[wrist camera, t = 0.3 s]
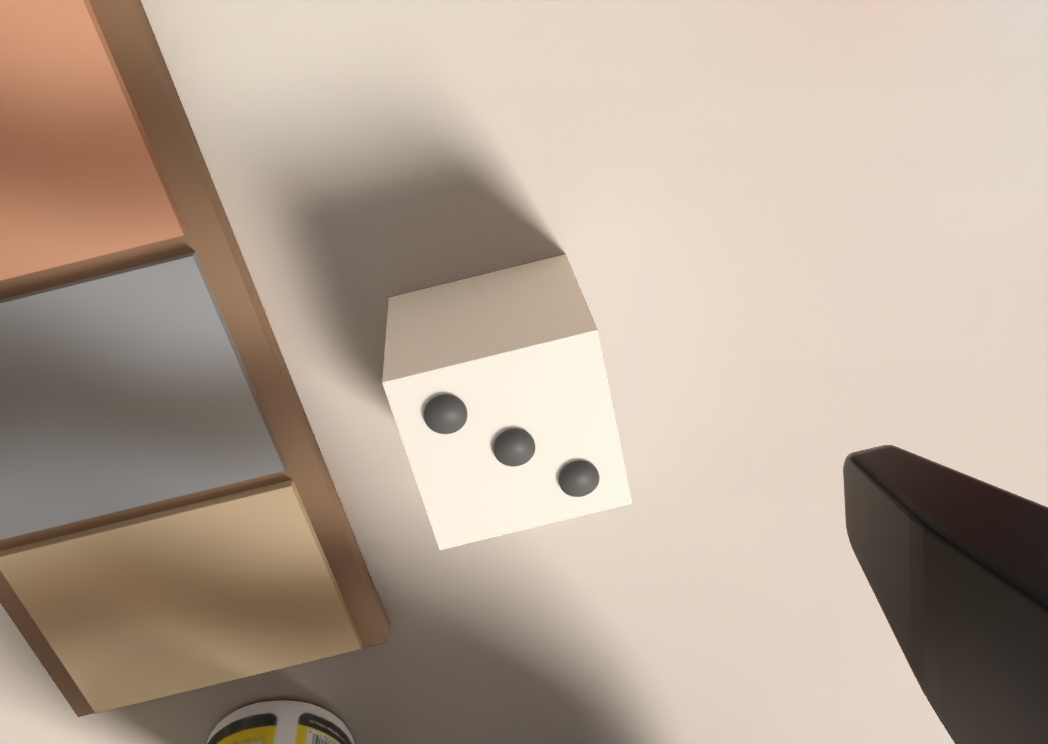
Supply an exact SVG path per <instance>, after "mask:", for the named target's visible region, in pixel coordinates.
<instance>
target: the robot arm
mask: <svg viewBox="0 0 1048 744" xmlns="http://www.w3.org/2000/svg"><path fill="white" fill-rule="evenodd" d="M843 476H844V495H845V515H846V528H847V533H848V537H849V541H850V543H851V546H852V549H853V551H854V553H855V555H856V557H857V559H858V561H859V563H860V565H861V567H862V569H863V571H864V574H865V576H866V578H867V580H868V582H869V584H870V586H871V588H872V590H873V592H874V594H875V596H876V598H877V600H878V602H879V604H880V606H881V608H882V610H883V612H884V614H885V616H886V618H887V620H888V623H889V625H890V627H891V629H892V631H893V633H894V635H895V637H896V639H897V641H898V643H899V645H900V647H901V649H902V651H903V653H904V655H905V657H906V659H907V661H908V663H909V665H910V667H911V669H912V671H913V673H914V675H915V677H916V679H917V681H918V683H919V685H920V687H921V689H922V691H923V692H924V694H925V696H926V697H927V699H928V701H929V702H930V704H931V706H932V707H933V709H934V711H935V712H936V714H937V716H938V717H939V719H940V721H941V722H942V724H943V725H944V727H945V728H946V730H947V732H948V733H949V735H950V736H951V738H952V739H953V741H954V742H955V744H1048V507H1046V506H1043V505H1041V504H1038V503H1036V502H1033V501H1031V500H1028V499H1026V498H1023V497H1021V496H1018V495H1016V494H1013V493H1011V492H1008V491H1006V490H1003V489H1001V488H998V487H996V486H993V485H991V484H988V483H986V482H983V481H981V480H978V479H976V478H973V477H971V476H968V475H966V474H963V473H961V472H958V471H956V470H953V469H951V468H948V467H946V466H943V465H941V464H938V463H936V462H933V461H931V460H928V459H926V458H923V457H921V456H918V455H916V454H913V453H911V452H908V451H906V450H903V449H901V448H898V447H895V446H892V445H883V446H878V447H874V448H870V449H866V450H861V451H857V452H853V453H850V454H849V455H848V456H847V457H846V459H845V462H844V466H843Z"/></svg>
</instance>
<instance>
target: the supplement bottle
mask: <svg viewBox="0 0 1048 744" xmlns="http://www.w3.org/2000/svg"><path fill="white" fill-rule="evenodd" d="M206 744H354V741H353V738H352V736H351V733H350V731H349V730H348V728H347V727H346V726H345V724H344V723H343V722H342V721H341V720H340V719H339V718H337V717H336V716H335V715H334V714H332V713H331V712H329V711H327V710H325V709H323V708H321V707H318V706H316V705H313V704H309V703H305V702H299V701H288V700H281V701H266V702H259V703H255V704H251V705H247V706H245V707H242V708H240V709H238V710H236V711H234V712H232V713H231V714H229V715H228V716H226V717H225V718H224V719H222V720H221V721H220V722H219V723H218V724H217V725H216V727H215V728H214V729H213V731H212V732H211V734H210V736H209V738H208V740H207V743H206Z"/></svg>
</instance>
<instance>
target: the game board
mask: <svg viewBox="0 0 1048 744" xmlns="http://www.w3.org/2000/svg"><path fill="white" fill-rule="evenodd" d="M0 603H1V604H2V606H3V607H4V609H5V610H6V612H7V613H8V615H9V616H10V617H11V619H12V620H13V622H14V623H15V625H16V626H17V628H18V629H19V631H20V632H21V634H22V635H23V637H24V638H25V640H26V641H27V642H28V644H29V645H30V647H31V648H32V650H33V651H34V653H35V654H36V656H37V657H38V659H39V660H40V662H41V663H42V664H43V666H44V667H45V669H46V670H47V672H48V673H49V675H50V676H51V678H52V679H53V681H54V682H55V684H56V685H57V687H58V688H59V689H60V691H61V692H62V694H63V695H64V697H65V698H66V700H67V701H68V703H69V704H70V706H71V707H72V709H73V710H74V711H75V713H76V714H77V716H78V717H80V716H84V715H88V714H93V713H100V712H104V711H108V710H112V709H117V708H121V707H125V706H129V705H133V704H137V703H141V702H146V701H150V700H154V699H158V698H162V697H166V696H170V695H174V694H179V693H183V692H187V691H191V690H195V689H199V688H203V687H208V686H212V685H216V684H220V683H224V682H228V681H232V680H237V679H241V678H245V677H249V676H253V675H257V674H261V673H266V672H270V671H274V670H278V669H282V668H286V667H290V666H294V665H299V664H303V663H307V662H311V661H315V660H319V659H323V658H328V657H332V656H336V655H340V654H344V653H348V652H352V651H357V650H361V649H362V648H366V647H370V646H374V645H378V644H382V643H386V642H389V630H390V624H389V622H388V619H387V617H386V614H385V612H384V609H383V607H382V604H381V602H380V599H379V597H378V594H377V592H376V589H375V587H374V584H373V582H372V579H371V577H370V574H369V572H368V569H367V567H366V564H365V562H364V559H363V557H362V554H361V552H360V549H359V547H358V544H357V542H356V539H355V537H354V534H353V532H352V529H351V527H350V524H349V522H348V519H347V517H346V514H345V512H344V509H343V507H342V504H341V502H340V499H339V497H338V494H337V492H336V489H335V487H334V484H333V482H332V479H331V477H330V474H329V472H328V469H327V467H326V464H325V462H324V459H323V457H322V454H321V452H320V449H319V447H318V444H317V442H316V439H315V437H314V434H313V432H312V429H311V427H310V424H309V421H308V419H307V416H306V414H305V411H304V409H303V406H302V404H301V401H300V399H299V396H298V394H297V391H296V389H295V386H294V384H293V381H292V379H291V376H290V374H289V371H288V369H287V366H286V364H285V361H284V359H283V356H282V354H281V351H280V349H279V346H278V344H277V341H276V339H275V336H274V334H273V331H272V329H271V326H270V324H269V321H268V319H267V316H266V314H265V311H264V309H263V306H262V304H261V301H260V299H259V296H258V294H257V291H256V289H255V286H254V284H253V281H252V279H251V276H250V274H249V271H248V269H247V266H246V264H245V261H244V259H243V256H242V254H241V251H240V249H239V246H238V244H237V241H236V239H235V236H234V234H233V231H232V229H231V226H230V224H229V221H228V219H227V216H226V214H225V211H224V209H223V206H222V204H221V201H220V199H219V196H218V194H217V191H216V189H215V186H214V184H213V181H212V179H211V176H210V174H209V171H208V169H207V166H206V164H205V161H204V159H203V156H202V154H201V151H200V149H199V146H198V143H197V141H196V138H195V136H194V133H193V131H192V128H191V126H190V123H189V121H188V118H187V116H186V113H185V111H184V108H183V106H182V103H181V101H180V98H179V96H178V93H177V91H176V88H175V86H174V83H173V81H172V78H171V76H170V73H169V71H168V68H167V66H166V63H165V61H164V58H163V56H162V53H161V51H160V48H159V46H158V43H157V41H156V38H155V36H154V33H153V31H152V28H151V26H150V23H149V21H148V18H147V16H146V13H145V11H144V8H143V6H142V3H141V1H140V0H0Z"/></svg>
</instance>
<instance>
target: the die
mask: <svg viewBox="0 0 1048 744" xmlns="http://www.w3.org/2000/svg"><path fill="white" fill-rule="evenodd" d="M382 384H383V387H384V389H385V392H386V395H387V398H388V401H389V404H390V407H391V410H392V413H393V416H394V419H395V422H396V424H397V427H398V430H399V433H400V436H401V439H402V442H403V445H404V448H405V451H406V454H407V457H408V459H409V462H410V465H411V468H412V471H413V474H414V477H415V480H416V483H417V486H418V489H419V492H420V494H421V497H422V500H423V503H424V506H425V509H426V512H427V515H428V518H429V521H430V524H431V527H432V529H433V532H434V535H435V538H436V541H437V544H438V547H439V550H443V549H447V548H451V547H456V546H460V545H464V544H468V543H472V542H476V541H480V540H484V539H488V538H493V537H497V536H501V535H505V534H509V533H513V532H517V531H521V530H525V529H530V528H534V527H538V526H542V525H546V524H550V523H554V522H558V521H562V520H567V519H571V518H575V517H579V516H583V515H587V514H591V513H595V512H600V511H604V510H608V509H612V508H616V507H620V506H624V505H628V504H632V500H631V495H630V490H629V485H628V480H627V475H626V470H625V465H624V460H623V455H622V450H621V445H620V440H619V435H618V430H617V425H616V420H615V415H614V410H613V405H612V400H611V395H610V390H609V385H608V380H607V375H606V370H605V365H604V360H603V355H602V349H601V344H600V339H599V334H598V330H597V327H596V325H595V322H594V320H593V318H592V315H591V313H590V311H589V308H588V306H587V303H586V301H585V299H584V296H583V294H582V292H581V289H580V287H579V284H578V282H577V280H576V277H575V275H574V273H573V270H572V268H571V265H570V263H569V261H568V258H567V256H566V254H564V255H560V256H556V257H552V258H548V259H544V260H540V261H536V262H531V263H527V264H523V265H519V266H515V267H511V268H507V269H503V270H499V271H495V272H491V273H487V274H483V275H479V276H475V277H470V278H466V279H462V280H458V281H454V282H450V283H446V284H442V285H438V286H434V287H430V288H426V289H422V290H418V291H414V292H410V293H405V294H401V295H397V296H393V297H389V301H388V314H387V327H386V340H385V352H384V365H383V378H382Z"/></svg>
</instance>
